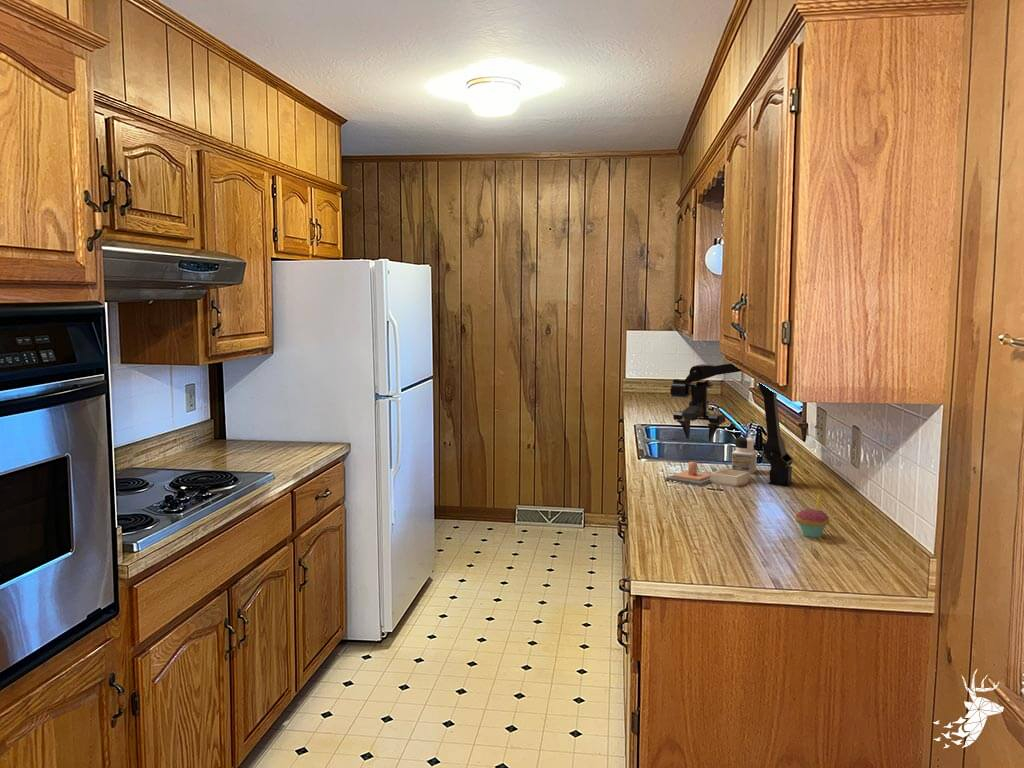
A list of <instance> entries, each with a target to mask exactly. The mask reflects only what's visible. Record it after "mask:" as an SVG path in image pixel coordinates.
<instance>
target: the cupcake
mask: <svg viewBox="0 0 1024 768" xmlns="http://www.w3.org/2000/svg"><path fill="white" fill-rule="evenodd" d="M820 500H821V492H820V491H819V493H818V494H817V499H816V503H815V508H807V509H804V510H800V511H799V512H797V513H796V515H795V516H796V517H795V522H796V523H798V524H799V526H800V529H801V533H802V535H803V536H805V537H808V536H809V537H808V538H820V537H822V534H823V532H824V530H825V527H826V526H827V525H829V523H830V519H829V515H827V513H826V512H824V511H823V510H820V509H819V505H820Z"/></svg>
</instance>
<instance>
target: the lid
mask: <svg viewBox="0 0 1024 768" xmlns="http://www.w3.org/2000/svg"><path fill="white" fill-rule="evenodd" d="M687 466H688V470H683V471H680V472H677V473H675V474H671V476H672V477H673V478H679V479H686V480H692V481H701V480H704V479H707V478H710V473H709V472H708V473H707V472H702V471H701V472H700V471H698V462H697V461H688V465H687Z"/></svg>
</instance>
